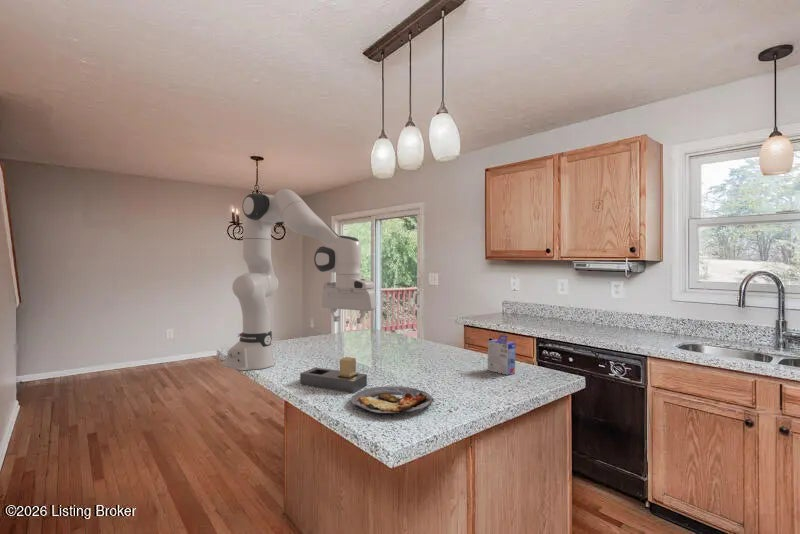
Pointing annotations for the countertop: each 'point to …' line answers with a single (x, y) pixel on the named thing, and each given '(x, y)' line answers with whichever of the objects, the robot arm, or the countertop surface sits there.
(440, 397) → the countertop surface
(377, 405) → the food plate
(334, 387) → the grey peg hole block
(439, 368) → the countertop surface
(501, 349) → the ink cartridge box
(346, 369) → the square peg
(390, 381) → the countertop surface
